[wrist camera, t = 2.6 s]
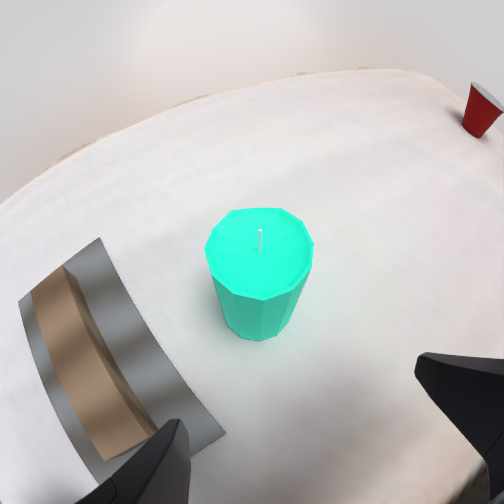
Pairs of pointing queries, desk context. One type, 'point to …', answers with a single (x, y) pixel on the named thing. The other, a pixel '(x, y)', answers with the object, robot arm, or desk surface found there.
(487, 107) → the plastic cup
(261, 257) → the candle
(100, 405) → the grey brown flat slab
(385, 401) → the desk surface
